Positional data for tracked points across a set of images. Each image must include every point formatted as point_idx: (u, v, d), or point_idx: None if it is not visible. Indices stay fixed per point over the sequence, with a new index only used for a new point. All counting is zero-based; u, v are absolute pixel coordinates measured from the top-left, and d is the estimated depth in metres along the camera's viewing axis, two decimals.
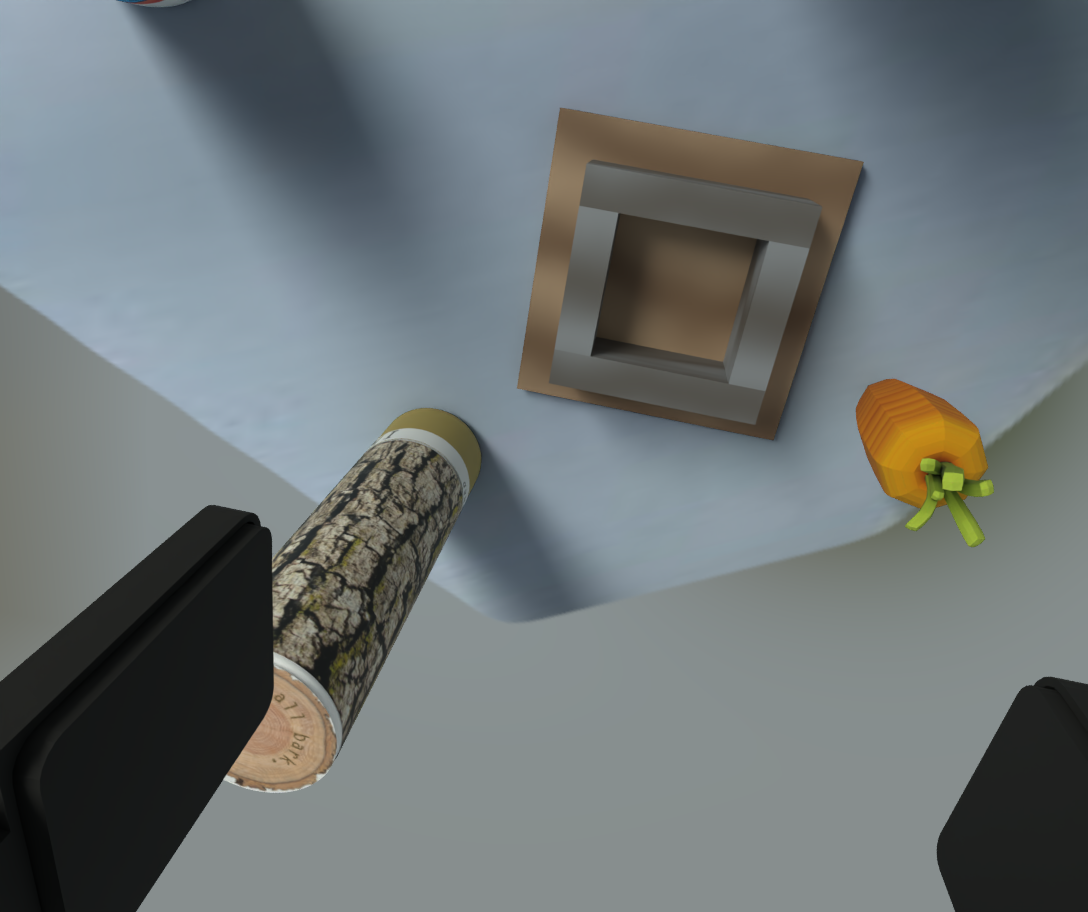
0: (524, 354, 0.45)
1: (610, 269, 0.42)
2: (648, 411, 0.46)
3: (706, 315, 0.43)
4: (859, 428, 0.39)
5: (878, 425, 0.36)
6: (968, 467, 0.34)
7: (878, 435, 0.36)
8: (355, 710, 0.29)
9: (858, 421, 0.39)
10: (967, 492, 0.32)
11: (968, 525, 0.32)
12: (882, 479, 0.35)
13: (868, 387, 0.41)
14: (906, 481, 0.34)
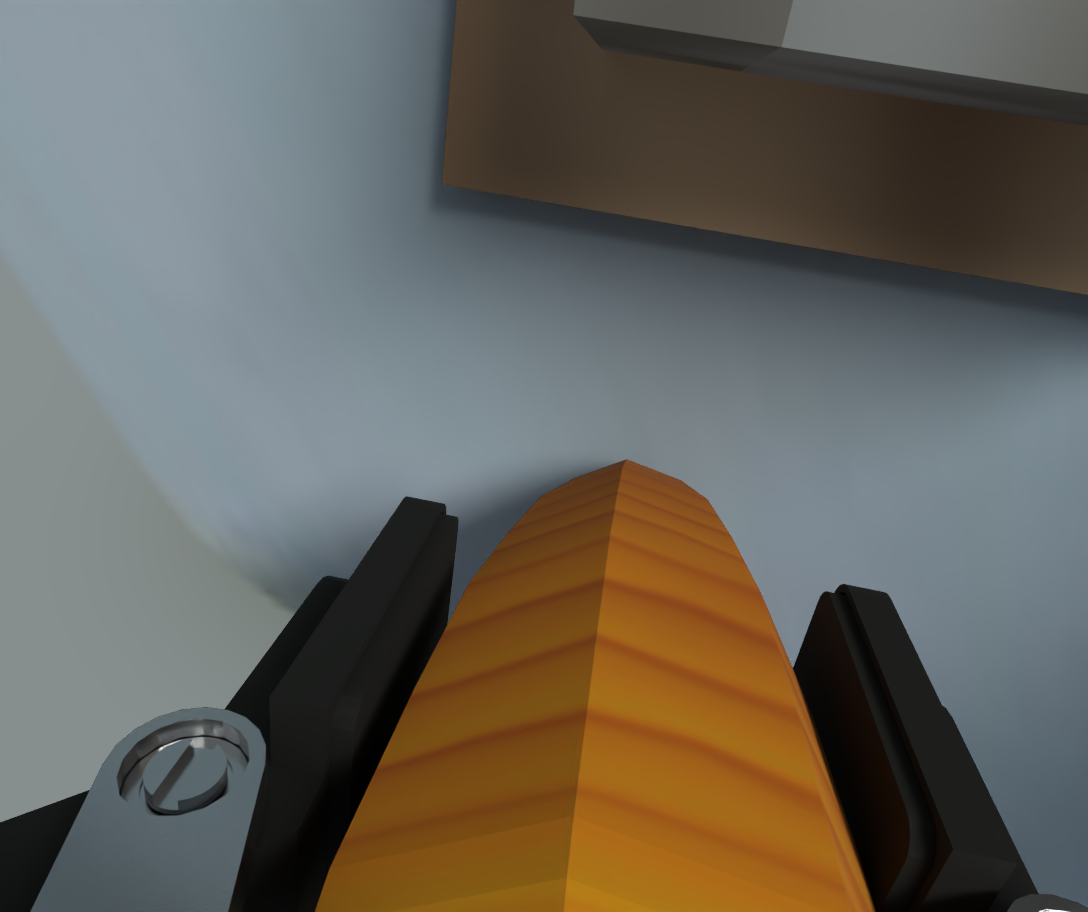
0: None
1: None
2: None
3: None
4: (615, 545, 0.08)
5: (724, 708, 0.06)
6: None
7: (693, 755, 0.06)
8: None
9: (624, 518, 0.09)
10: None
11: None
12: (422, 910, 0.05)
13: (701, 495, 0.11)
14: None
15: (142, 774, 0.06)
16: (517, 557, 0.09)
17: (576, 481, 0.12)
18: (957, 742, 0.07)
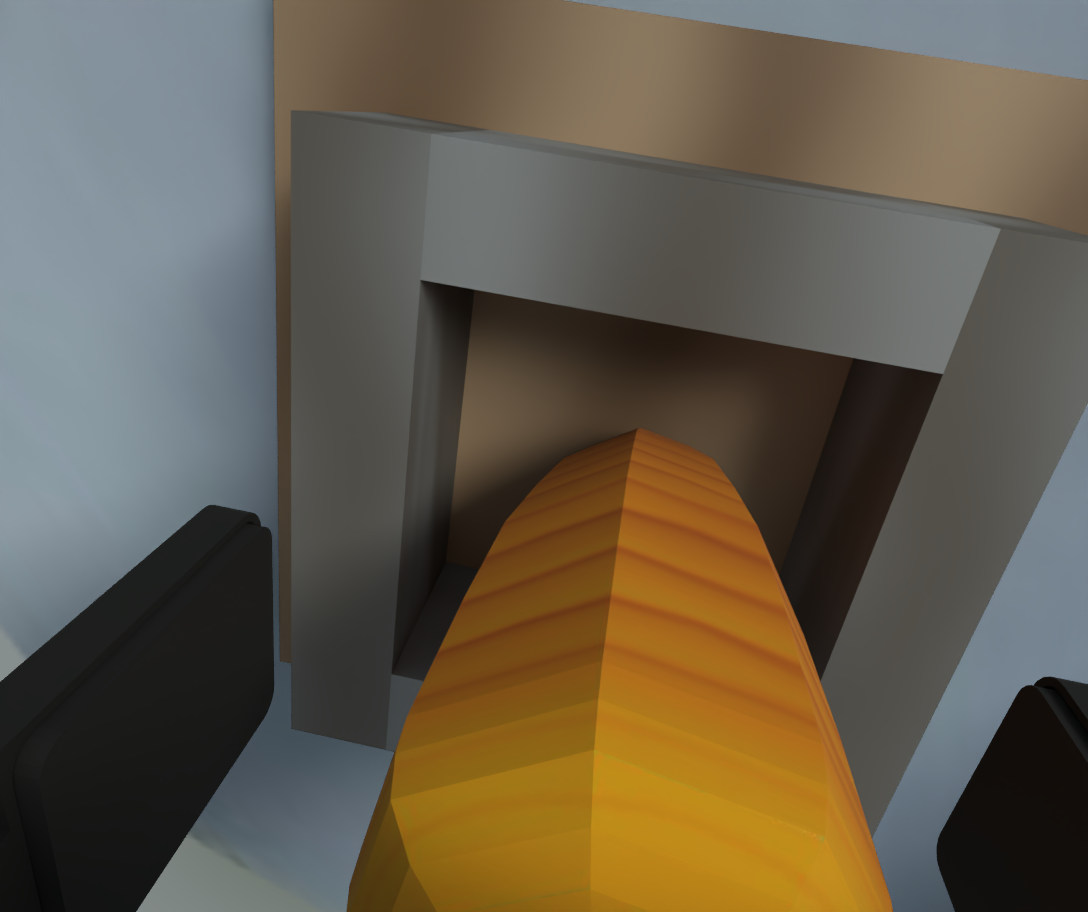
0: None
1: None
2: (287, 394, 0.17)
3: None
4: (631, 484, 0.09)
5: (723, 602, 0.07)
6: None
7: (696, 632, 0.07)
8: None
9: (638, 465, 0.10)
10: None
11: None
12: (485, 732, 0.06)
13: (707, 456, 0.13)
14: (516, 911, 0.05)
15: None
16: (546, 500, 0.10)
17: (595, 445, 0.13)
18: None
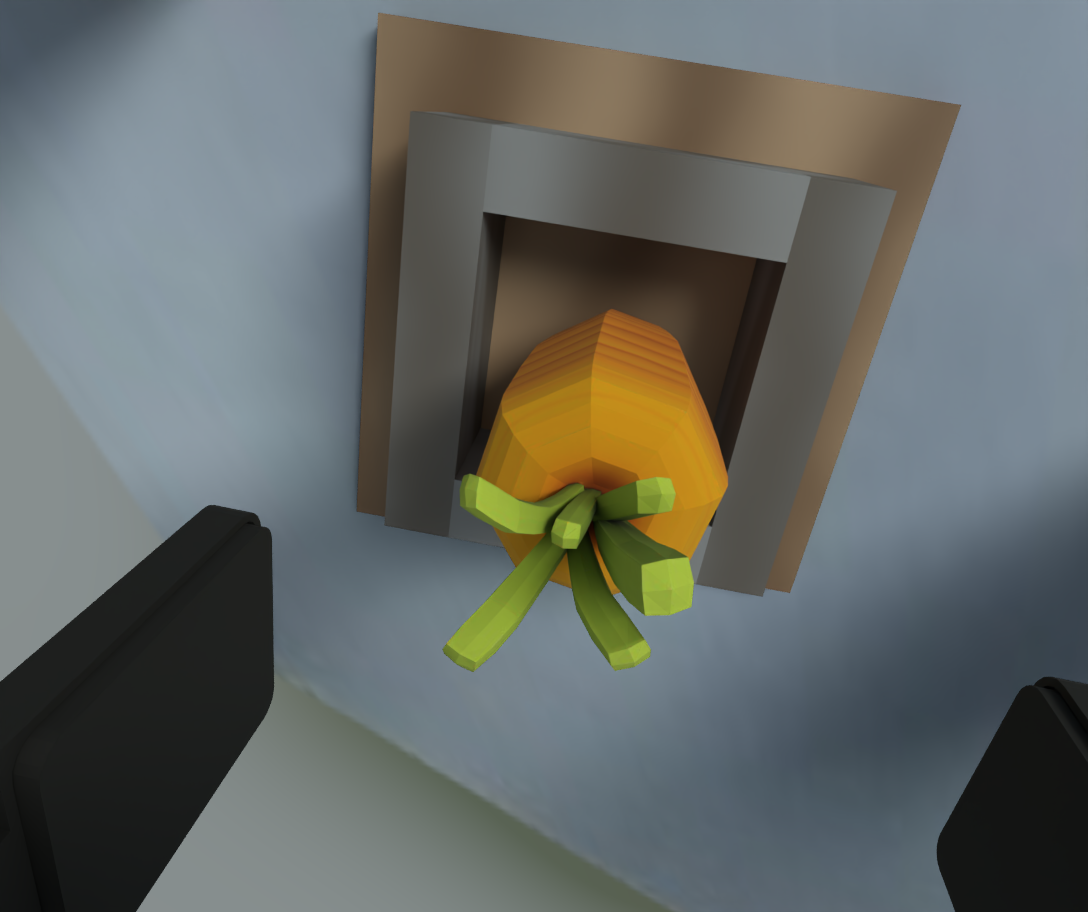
0: (457, 30, 0.20)
1: None
2: (372, 306, 0.24)
3: None
4: (608, 317, 0.17)
5: (652, 354, 0.15)
6: None
7: (638, 357, 0.14)
8: None
9: (612, 314, 0.18)
10: (587, 600, 0.12)
11: (503, 625, 0.11)
12: (543, 385, 0.14)
13: None
14: (560, 442, 0.13)
15: None
16: (559, 334, 0.18)
17: None
18: None
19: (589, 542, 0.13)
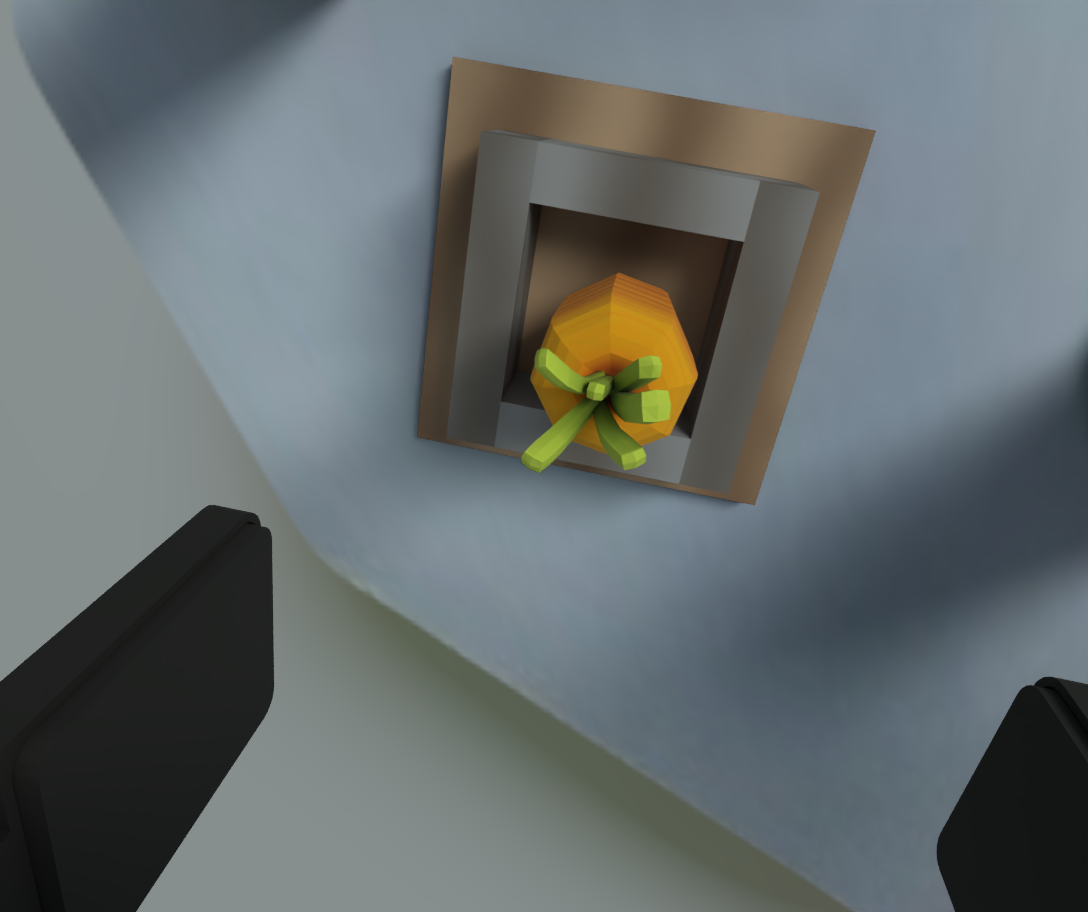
0: (510, 70, 0.28)
1: None
2: (438, 274, 0.32)
3: None
4: (619, 274, 0.24)
5: (649, 295, 0.23)
6: (621, 430, 0.21)
7: (640, 296, 0.22)
8: None
9: (621, 274, 0.25)
10: (607, 433, 0.19)
11: (557, 443, 0.19)
12: (579, 309, 0.21)
13: None
14: (590, 343, 0.20)
15: None
16: None
17: None
18: None
19: (608, 406, 0.20)
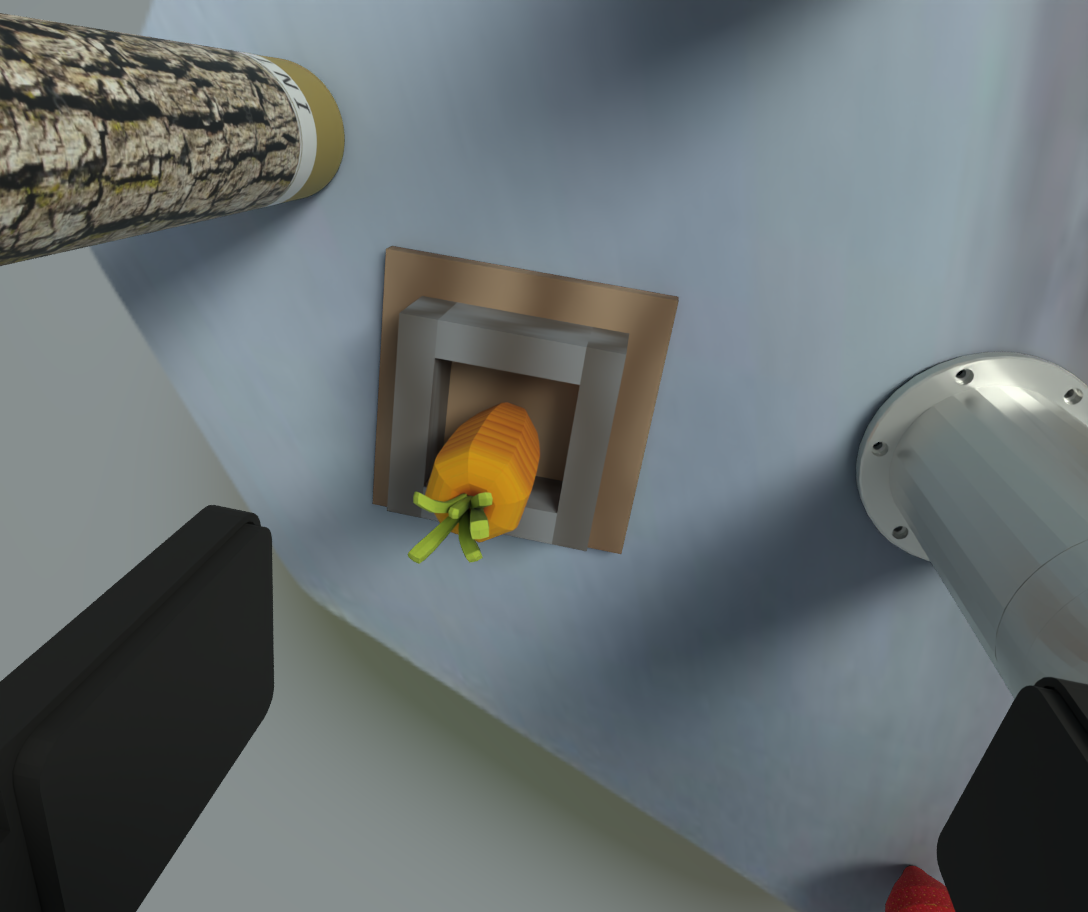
0: (426, 258, 0.40)
1: None
2: (382, 391, 0.44)
3: None
4: (490, 414, 0.36)
5: (503, 436, 0.35)
6: None
7: (494, 439, 0.34)
8: None
9: (495, 411, 0.37)
10: (462, 538, 0.31)
11: (430, 546, 0.31)
12: (451, 453, 0.33)
13: (525, 410, 0.40)
14: (456, 477, 0.33)
15: None
16: (470, 420, 0.37)
17: None
18: None
19: (468, 517, 0.33)
